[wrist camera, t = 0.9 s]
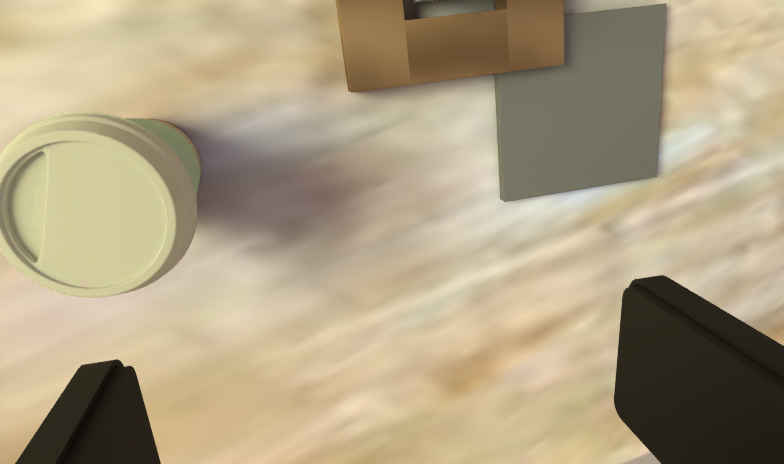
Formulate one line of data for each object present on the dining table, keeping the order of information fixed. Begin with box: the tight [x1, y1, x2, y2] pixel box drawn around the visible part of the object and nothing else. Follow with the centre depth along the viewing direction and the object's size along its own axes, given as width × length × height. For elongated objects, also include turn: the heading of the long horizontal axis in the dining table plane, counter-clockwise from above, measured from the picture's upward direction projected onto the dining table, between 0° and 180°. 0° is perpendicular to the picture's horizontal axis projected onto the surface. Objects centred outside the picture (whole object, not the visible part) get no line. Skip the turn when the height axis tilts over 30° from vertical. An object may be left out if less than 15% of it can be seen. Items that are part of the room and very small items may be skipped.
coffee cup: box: [0, 111, 201, 298], centre depth 28 cm, size 9×9×12 cm
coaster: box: [495, 4, 666, 202], centre depth 37 cm, size 12×12×1 cm
